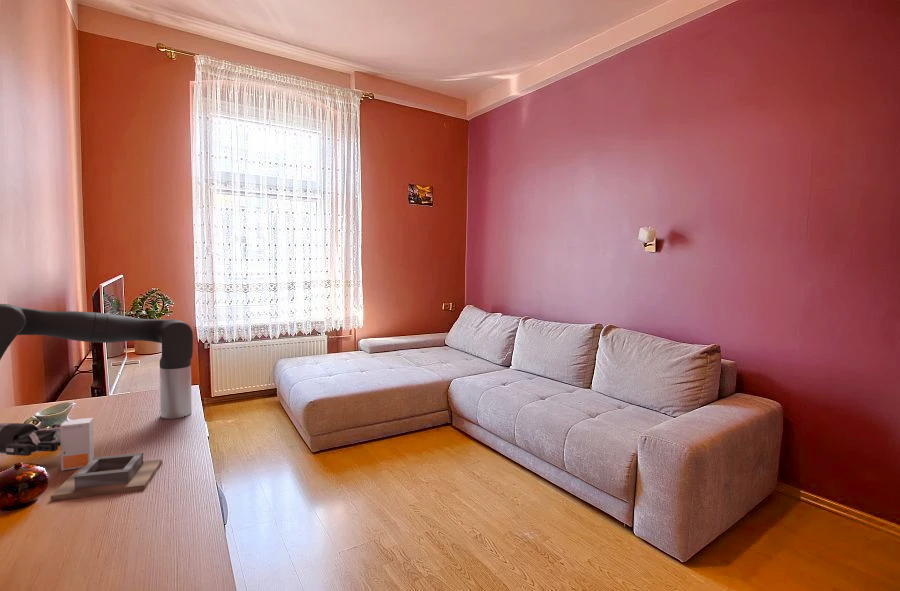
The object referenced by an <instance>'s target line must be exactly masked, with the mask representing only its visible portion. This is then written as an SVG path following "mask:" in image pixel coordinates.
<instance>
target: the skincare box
mask: <svg viewBox="0 0 900 591" xmlns="http://www.w3.org/2000/svg"><path fill="white" fill-rule="evenodd" d="M60 425H61V426H60V441H59V442H60V443H59V445H60V446H59V447H60V471H61V472H63V471H66V470H74V469H79V468H80V467H85V466H86V465H87V464H88V463H89V462H90V461H91V460H92V459H93V458H94V457H95V453H94V452H95V448H94V446H95V445H94V444H95V443H94V417H87V418H86V417H85V418H77V419H68V420H67V419H66V420H64V421H63V422H62V423H61V424H60Z"/></svg>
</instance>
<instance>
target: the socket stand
mask: <svg viewBox="0 0 900 591" xmlns="http://www.w3.org/2000/svg"><path fill="white" fill-rule="evenodd" d="M162 465H163V459H162V458H161V459H153V460H144V452H137V453H128V454H127V453H125V454H116V455H115V454H114V455H105V456H94V458H93V459H92V460H91V461H90V462H89V463H88V464H87V465H86V466H85V467H80V468H77V470H76V471H75V472H74V473H73V474H72V475H71V476H69V477H68V478H67V479H66V480H65V481H64V482H63V483H61V485H60V486H59V487H58V488H57V489H55V491H53V492H52V494H51V495H50V501H51V502H52V501H60V500H61V501H62V500H69V499H79V498H86V497H94V496H95V497H96V496H104V495H112V494H121V493H129V492H130V493H131V492H137V491H145V490H146V488H147V487H148V485H149V483H151V481H152V479H153V478H154V476H155V475H156V473H157V472H158V470H159V469H160V467H161V466H162Z"/></svg>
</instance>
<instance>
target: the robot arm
mask: <svg viewBox="0 0 900 591" xmlns="http://www.w3.org/2000/svg"><path fill="white" fill-rule="evenodd" d="M17 336H45V337H46V336H47V337H53V338H58V339H64V340H69V341H76V342H83V343H84V342H85V343H99V344H100V343H102V344H103V343H104V344H106V343H107V344H108V343H109V344H110V343H124V342H133V341H141V342H142V341H143V342H152V343H159V344H161V356H160V359H159V396H160V397H159V398H160V399H159V400H160V401H159V403H160V407H159V408H160V410H159V411H160V418H162V419H167V420H172V419H173V420H174V419H180V418H185V417H187V416H190V415H191V414H192V358H193V355H194V354H193V351H194V349H193V348H194V335H193V330H192V327H191V325H189V324H188V323H186V322H185V321H183V320H181V319H176V318H174V319H173V318H165V319H163V318H162V319H161V318H160V319H159V318H158V319H157V318H156V319H153V318H150V319H149V318H138V317H132V316H127V315H121V314H113V313H103V312H93V311H71V310H68V311H67V310H65V311H61V310H59V311H58V310H57V311H55V310H45V309H44V310H42V309H36V308H35V309H34V308H30V307H29V308H28V307H23V306H17V305H12V304H8V303H7V304H6V303H0V361H1V359H2V358H3V357H4V354H5V353H6V351H7V350H8V348H9V347H10V345H11V344H12V343H13V341H14V340H15V338H16V337H17ZM184 416H185V417H184ZM60 426H61V424H52V425H51V427H50V428H38V427H37V426H36V425H35V424H34V423H27V422H26V423H22V422H20V423H19V422H18V423H17V422H16V423H15V422H2V423H1V422H0V454H6V455H7V456H23V457H28V456H31V455H32V453H40V452H56V451H58V450H59V444H58V442H60ZM55 436H56V437H55Z"/></svg>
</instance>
